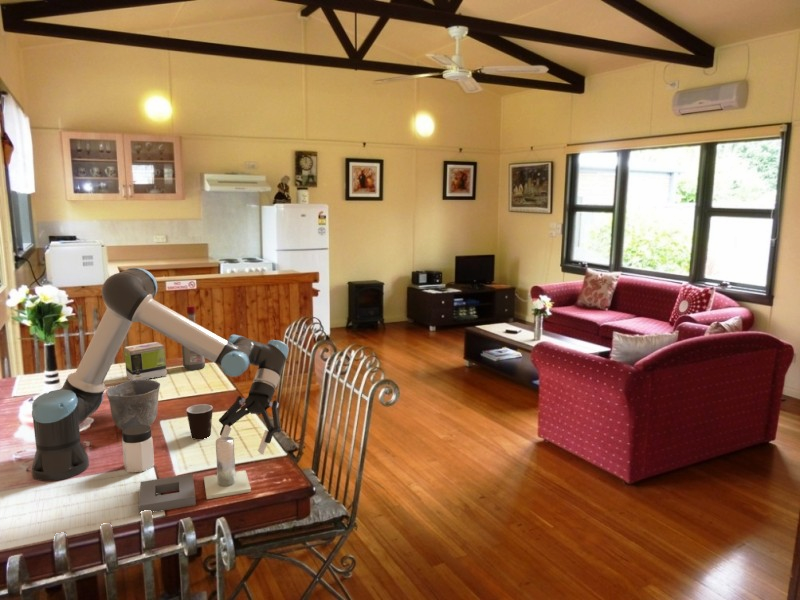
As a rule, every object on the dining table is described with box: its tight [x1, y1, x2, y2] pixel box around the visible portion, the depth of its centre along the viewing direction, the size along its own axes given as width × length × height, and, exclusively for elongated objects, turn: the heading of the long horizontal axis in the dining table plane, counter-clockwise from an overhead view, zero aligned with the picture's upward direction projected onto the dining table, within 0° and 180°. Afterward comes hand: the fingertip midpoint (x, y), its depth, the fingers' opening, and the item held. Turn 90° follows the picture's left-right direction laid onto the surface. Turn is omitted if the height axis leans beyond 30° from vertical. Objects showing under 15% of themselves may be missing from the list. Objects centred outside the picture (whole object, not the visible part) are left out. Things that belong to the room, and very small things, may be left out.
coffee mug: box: [186, 403, 214, 440], centre depth 206 cm, size 12×9×10 cm
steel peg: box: [215, 436, 236, 487], centre depth 170 cm, size 5×5×13 cm
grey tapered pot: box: [105, 379, 161, 431], centre depth 212 cm, size 18×18×15 cm
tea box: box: [123, 341, 168, 381], centre depth 269 cm, size 15×10×15 cm, turn 130°
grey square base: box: [138, 473, 196, 514], centre depth 164 cm, size 14×14×2 cm
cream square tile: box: [203, 469, 252, 500], centre depth 171 cm, size 12×12×1 cm
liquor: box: [181, 305, 206, 371], centre depth 283 cm, size 9×9×30 cm
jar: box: [121, 425, 155, 473], centre depth 182 cm, size 9×8×12 cm
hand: (240, 449), depth 176 cm, fingers open, 13 cm apart
